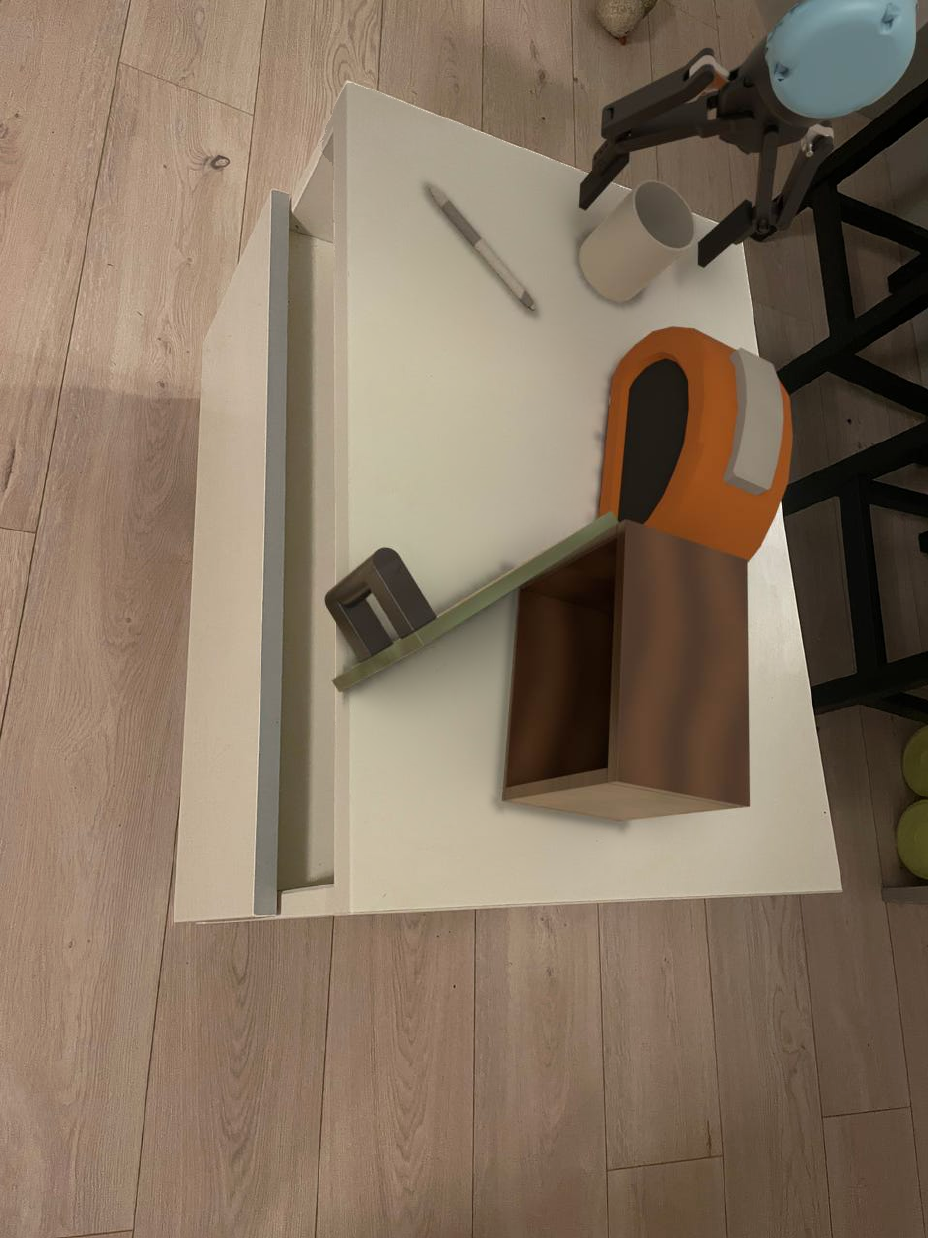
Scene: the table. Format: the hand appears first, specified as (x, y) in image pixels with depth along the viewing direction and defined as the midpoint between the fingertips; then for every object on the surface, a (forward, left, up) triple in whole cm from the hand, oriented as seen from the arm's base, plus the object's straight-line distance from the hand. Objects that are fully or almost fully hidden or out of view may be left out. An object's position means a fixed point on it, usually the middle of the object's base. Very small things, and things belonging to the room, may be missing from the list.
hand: (643, 227), depth 86 cm
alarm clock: (+24, +4, -6) cm, 25 cm away
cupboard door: (+40, -17, -5) cm, 44 cm away
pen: (+6, -14, -6) cm, 16 cm away
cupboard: (+45, -2, -6) cm, 45 cm away
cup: (0, 0, -6) cm, 6 cm away
